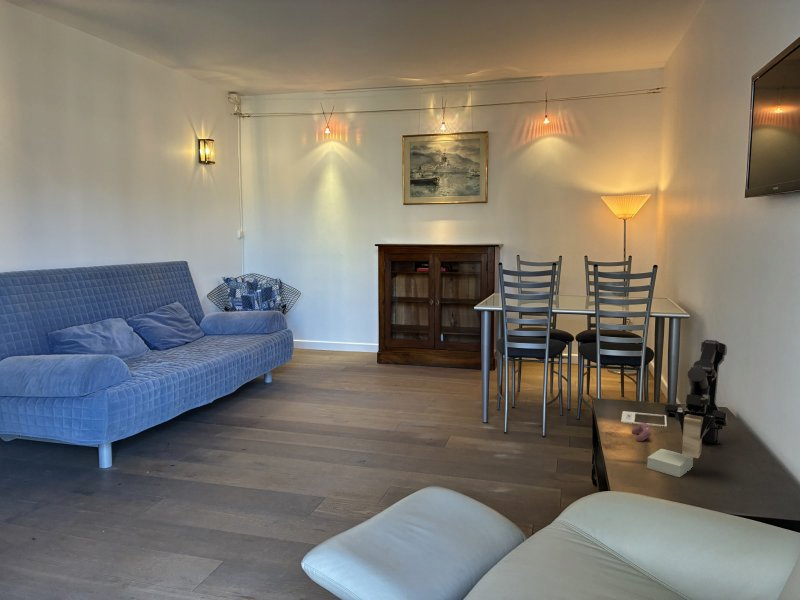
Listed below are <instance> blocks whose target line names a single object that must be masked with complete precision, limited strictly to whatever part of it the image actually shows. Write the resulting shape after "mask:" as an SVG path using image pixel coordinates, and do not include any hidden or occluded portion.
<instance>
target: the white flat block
mask: <svg viewBox="0 0 800 600" xmlns="http://www.w3.org/2000/svg"><path fill="white" fill-rule="evenodd" d="M693 466H694V457H690V456H685V455H682V453H679V452H676V451H672V450H669V449H664V448H660V449H659V450H657V451H655V452H653V453H652V454H650V455H649V456H647V466H646V468H647V469H649V470H652V471H657V472H660V473H663V474H667V475H670V476H673V477H676V478H681V477H682V476H684V475H685V474H686V473H688V472H689V471H691V470H692V469H693V468H692V467H693ZM691 468H692V469H691ZM687 471H688V472H687Z"/></svg>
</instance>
